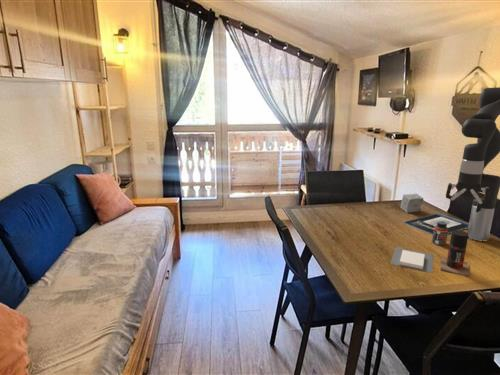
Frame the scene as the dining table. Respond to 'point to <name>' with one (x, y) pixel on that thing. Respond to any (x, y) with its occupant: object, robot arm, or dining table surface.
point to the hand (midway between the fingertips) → (464, 210)
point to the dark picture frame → (432, 220)
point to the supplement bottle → (440, 234)
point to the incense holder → (411, 203)
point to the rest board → (462, 271)
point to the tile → (412, 259)
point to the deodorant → (457, 249)
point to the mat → (426, 267)
